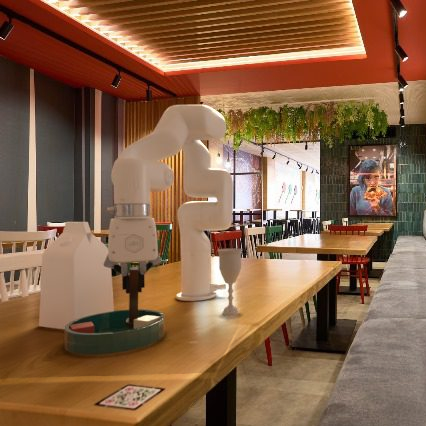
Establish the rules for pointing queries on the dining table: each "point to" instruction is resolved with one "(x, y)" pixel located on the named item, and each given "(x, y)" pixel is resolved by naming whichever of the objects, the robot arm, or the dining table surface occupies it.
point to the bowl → (113, 333)
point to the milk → (74, 277)
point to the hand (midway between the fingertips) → (133, 291)
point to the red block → (83, 327)
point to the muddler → (133, 296)
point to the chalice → (230, 274)
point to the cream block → (145, 321)
